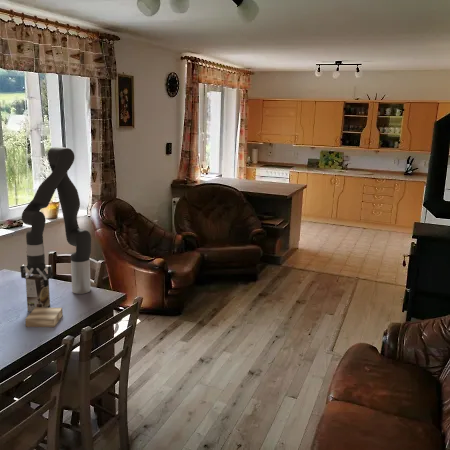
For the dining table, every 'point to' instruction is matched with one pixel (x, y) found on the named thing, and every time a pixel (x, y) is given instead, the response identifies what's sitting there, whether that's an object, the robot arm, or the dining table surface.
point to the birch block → (44, 317)
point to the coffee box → (37, 292)
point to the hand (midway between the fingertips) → (37, 286)
